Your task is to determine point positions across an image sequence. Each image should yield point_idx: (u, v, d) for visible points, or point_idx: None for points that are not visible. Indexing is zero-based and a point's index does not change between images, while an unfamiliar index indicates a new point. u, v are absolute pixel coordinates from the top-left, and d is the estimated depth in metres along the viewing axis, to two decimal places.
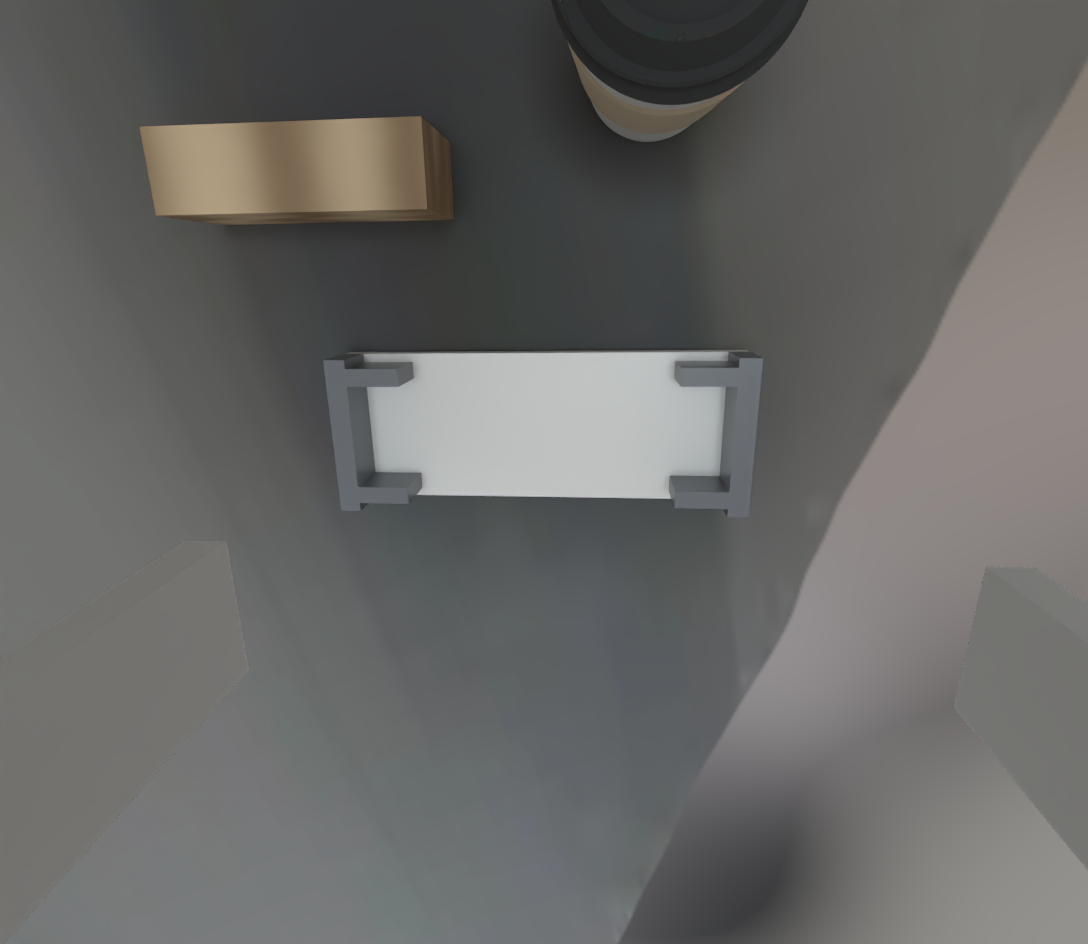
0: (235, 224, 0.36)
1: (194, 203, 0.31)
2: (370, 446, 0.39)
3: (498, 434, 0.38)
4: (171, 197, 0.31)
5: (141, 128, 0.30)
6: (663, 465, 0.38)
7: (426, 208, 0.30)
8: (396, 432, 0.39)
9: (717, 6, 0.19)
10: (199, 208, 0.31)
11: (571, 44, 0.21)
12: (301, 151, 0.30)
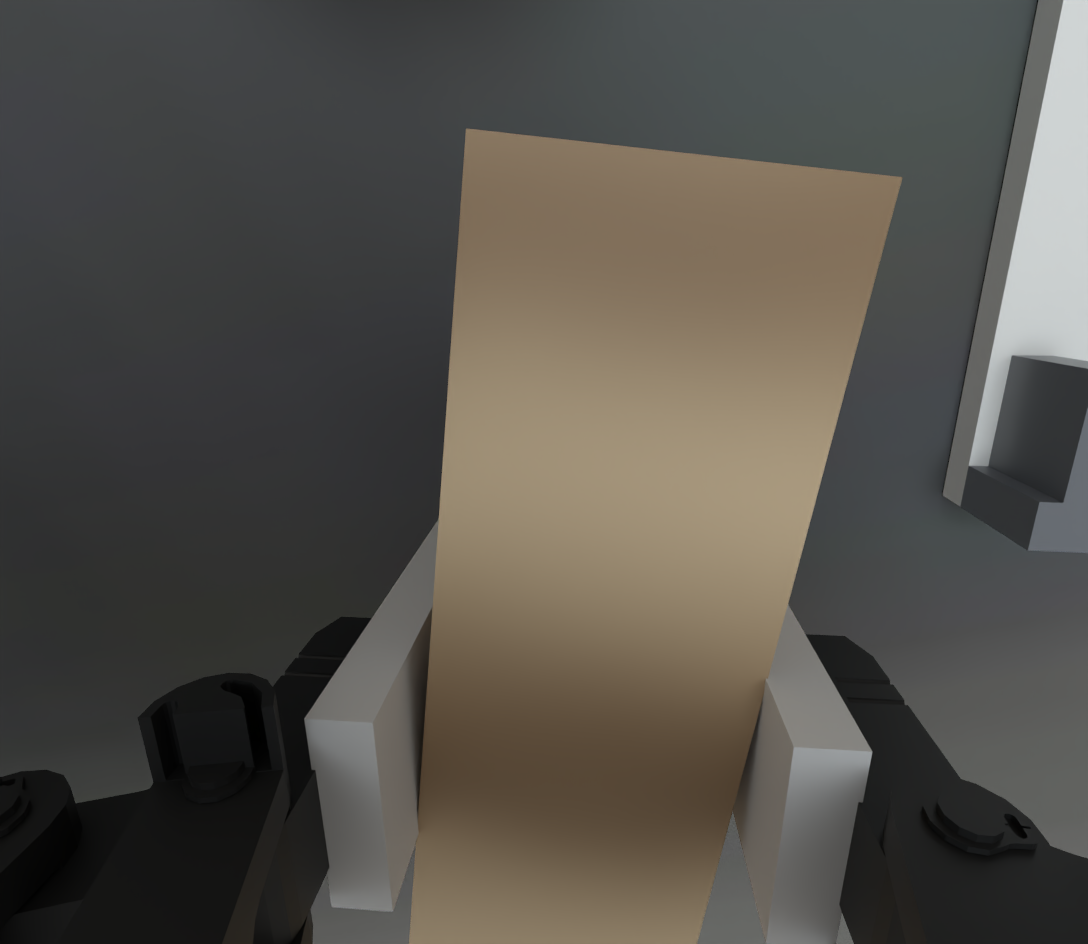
0: None
1: None
2: None
3: None
4: None
5: None
6: None
7: (892, 185, 0.06)
8: None
9: None
10: None
11: None
12: (532, 688, 0.07)
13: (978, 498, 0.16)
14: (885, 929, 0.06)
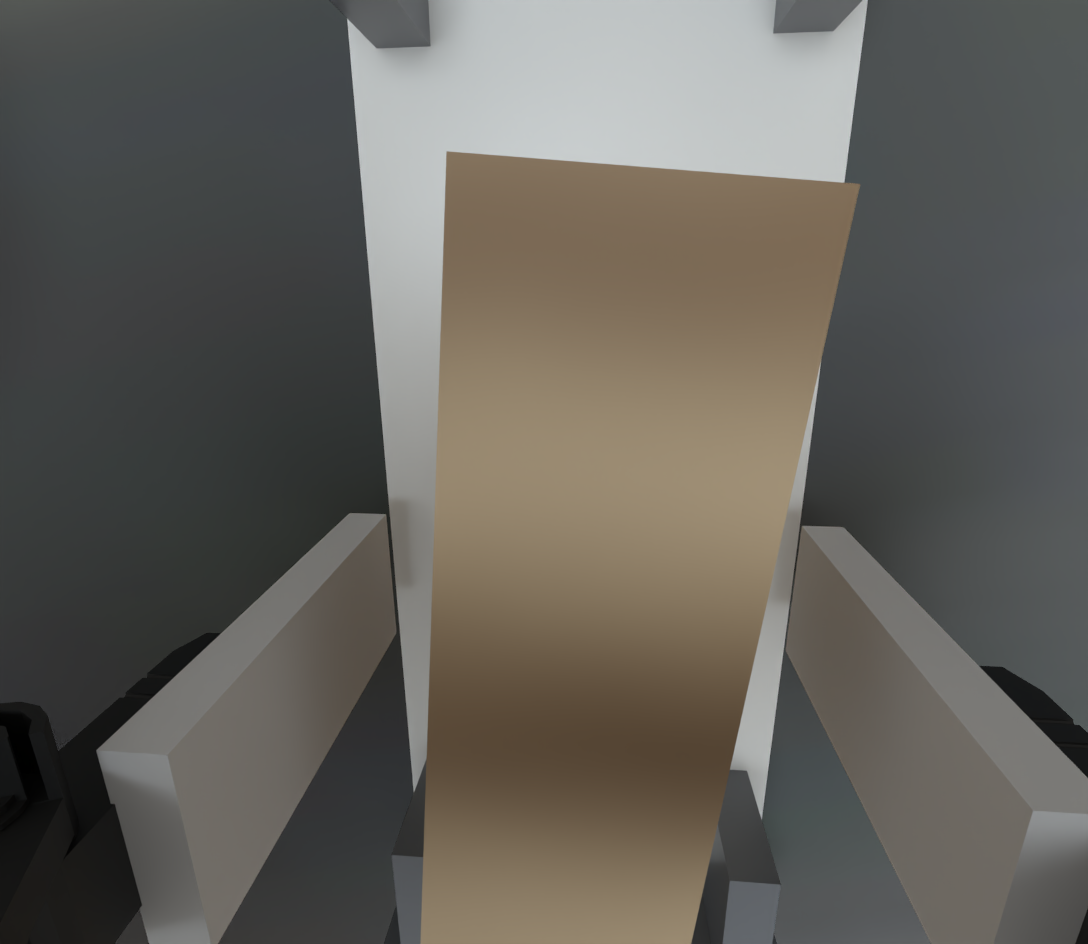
0: None
1: None
2: None
3: None
4: None
5: None
6: (734, 61, 0.11)
7: (851, 191, 0.06)
8: None
9: None
10: None
11: None
12: (529, 679, 0.08)
13: None
14: None
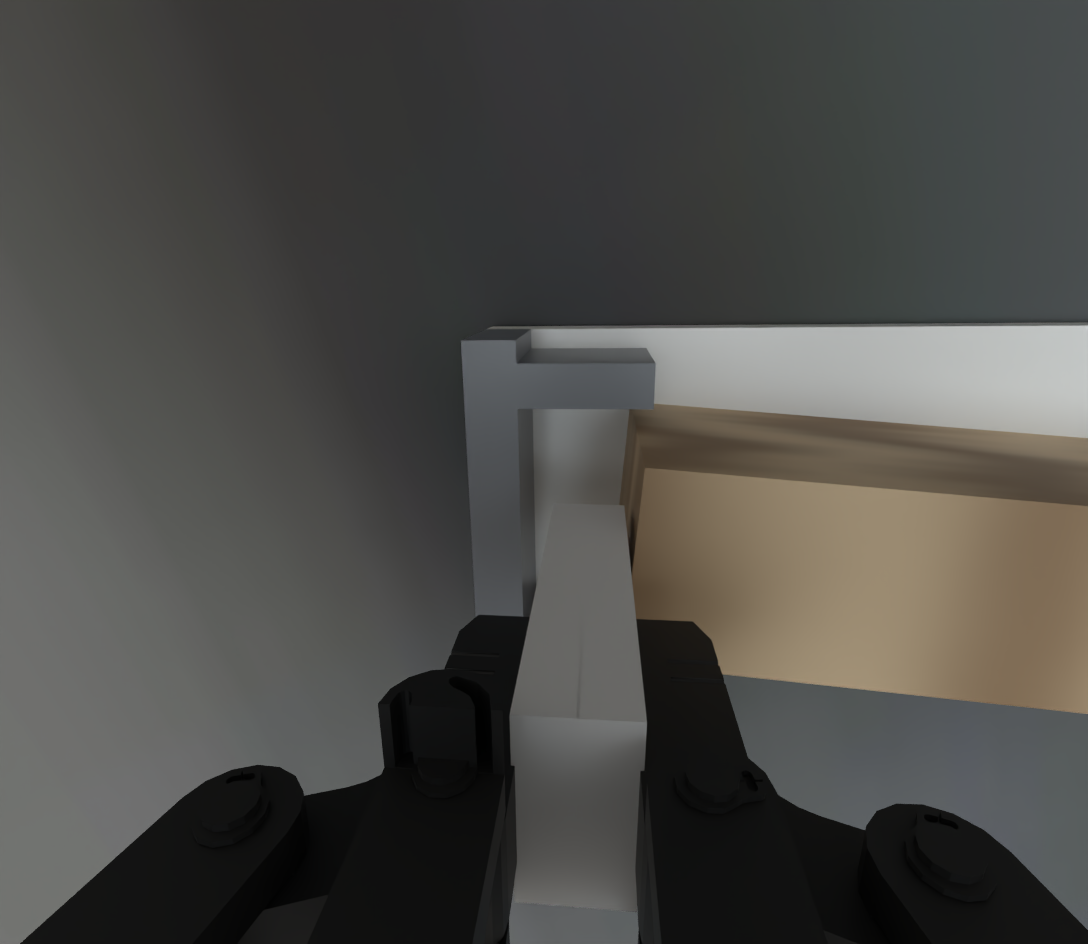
0: None
1: (738, 652, 0.12)
2: (533, 534, 0.17)
3: None
4: None
5: (650, 473, 0.11)
6: None
7: None
8: None
9: None
10: (746, 664, 0.12)
11: None
12: None
13: (500, 331, 0.15)
14: None
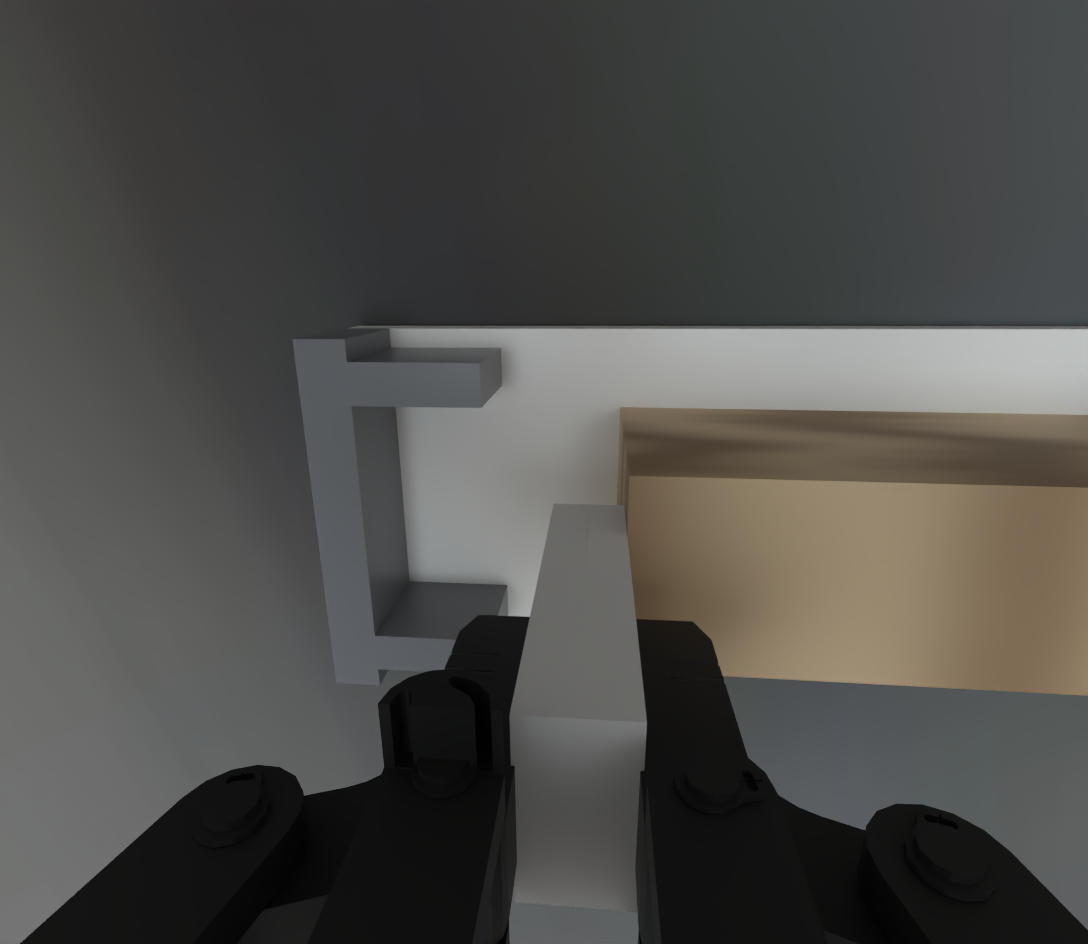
0: None
1: (737, 653, 0.12)
2: (401, 530, 0.18)
3: None
4: None
5: (635, 480, 0.11)
6: None
7: None
8: (457, 501, 0.18)
9: None
10: (745, 665, 0.12)
11: None
12: None
13: (353, 330, 0.16)
14: None
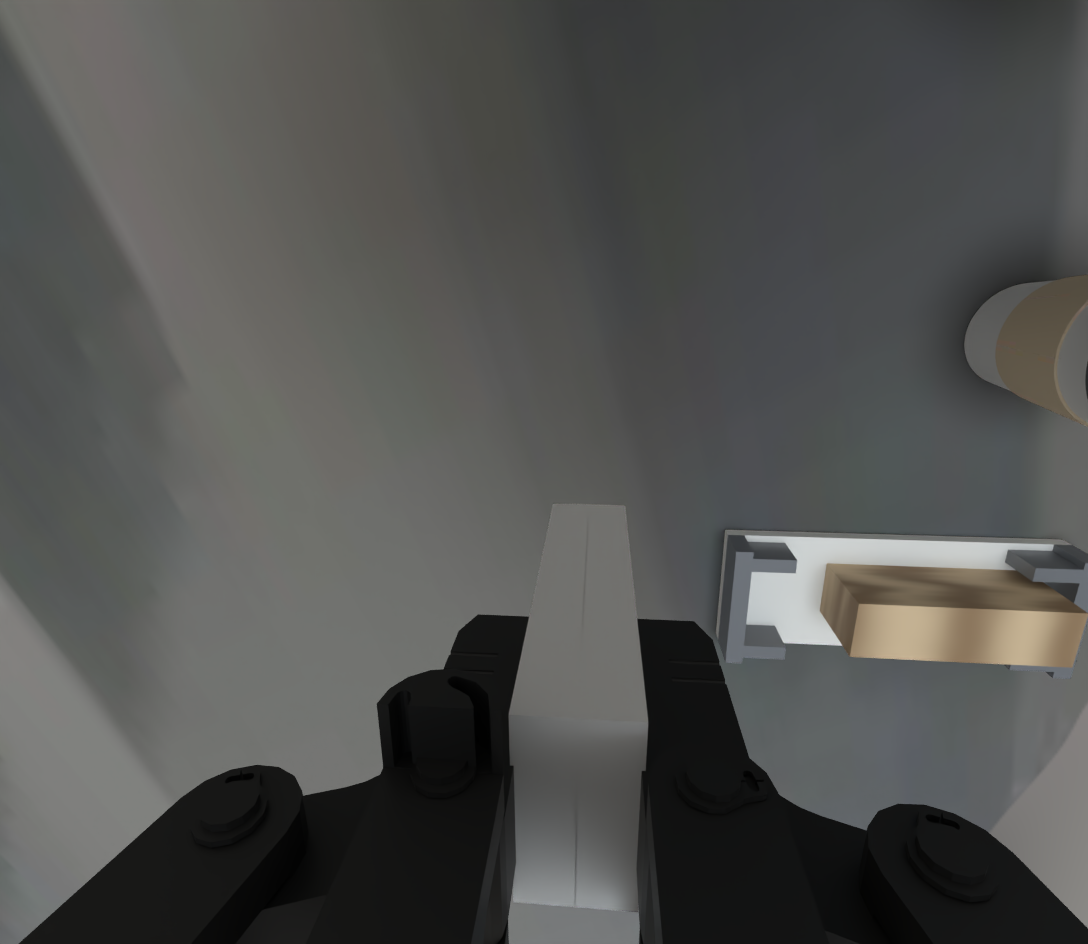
0: None
1: (884, 651, 0.41)
2: None
3: None
4: (867, 647, 0.41)
5: (860, 605, 0.40)
6: None
7: (1070, 666, 0.40)
8: (759, 594, 0.47)
9: None
10: (886, 655, 0.41)
11: None
12: (984, 627, 0.40)
13: (736, 539, 0.45)
14: (653, 898, 0.06)
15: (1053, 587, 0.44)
